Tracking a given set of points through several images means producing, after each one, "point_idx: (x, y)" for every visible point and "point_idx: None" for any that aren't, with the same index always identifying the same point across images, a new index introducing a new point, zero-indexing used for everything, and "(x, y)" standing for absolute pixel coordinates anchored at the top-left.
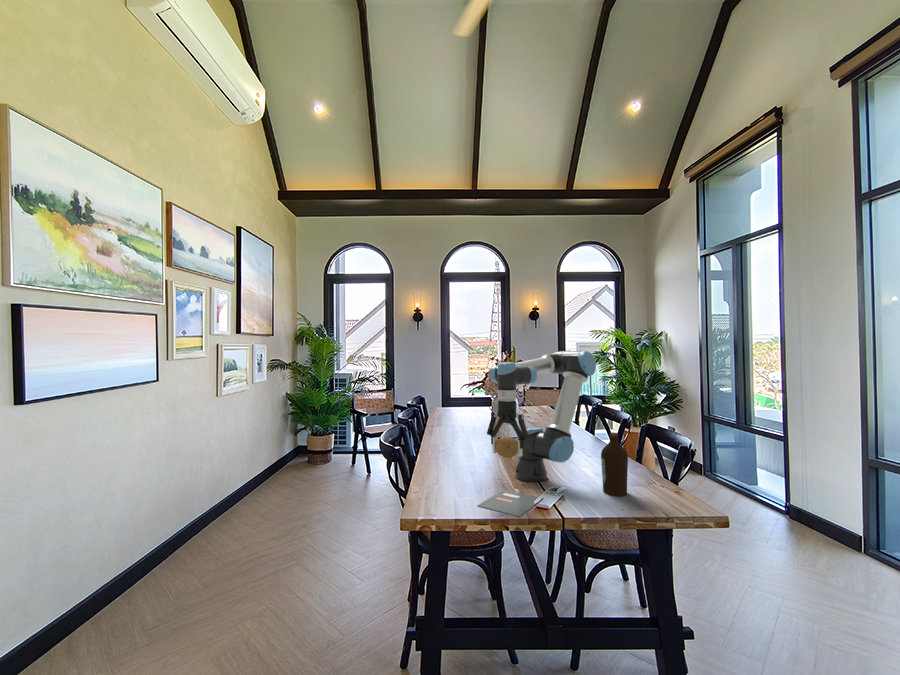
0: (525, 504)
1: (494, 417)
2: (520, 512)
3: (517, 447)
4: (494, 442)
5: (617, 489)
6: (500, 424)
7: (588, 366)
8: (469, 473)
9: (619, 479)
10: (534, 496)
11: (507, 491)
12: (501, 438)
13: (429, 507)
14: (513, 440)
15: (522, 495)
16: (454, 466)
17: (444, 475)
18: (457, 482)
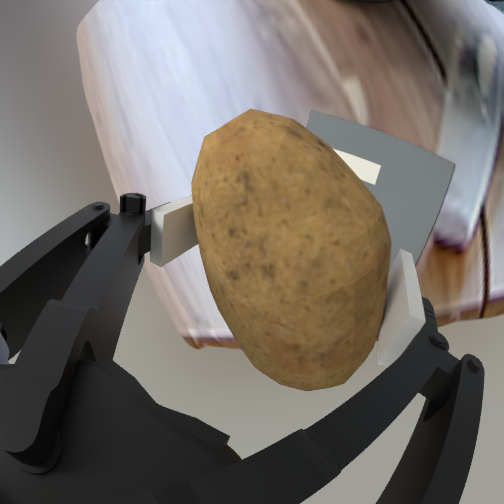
0: (403, 235)
1: (6, 341)
2: None
3: (377, 332)
4: (186, 250)
5: None
6: (108, 346)
7: None
8: (168, 21)
9: None
10: (426, 153)
11: (328, 125)
12: (214, 268)
13: (181, 289)
14: (337, 350)
15: (386, 152)
16: (126, 6)
17: (124, 74)
18: (163, 104)
